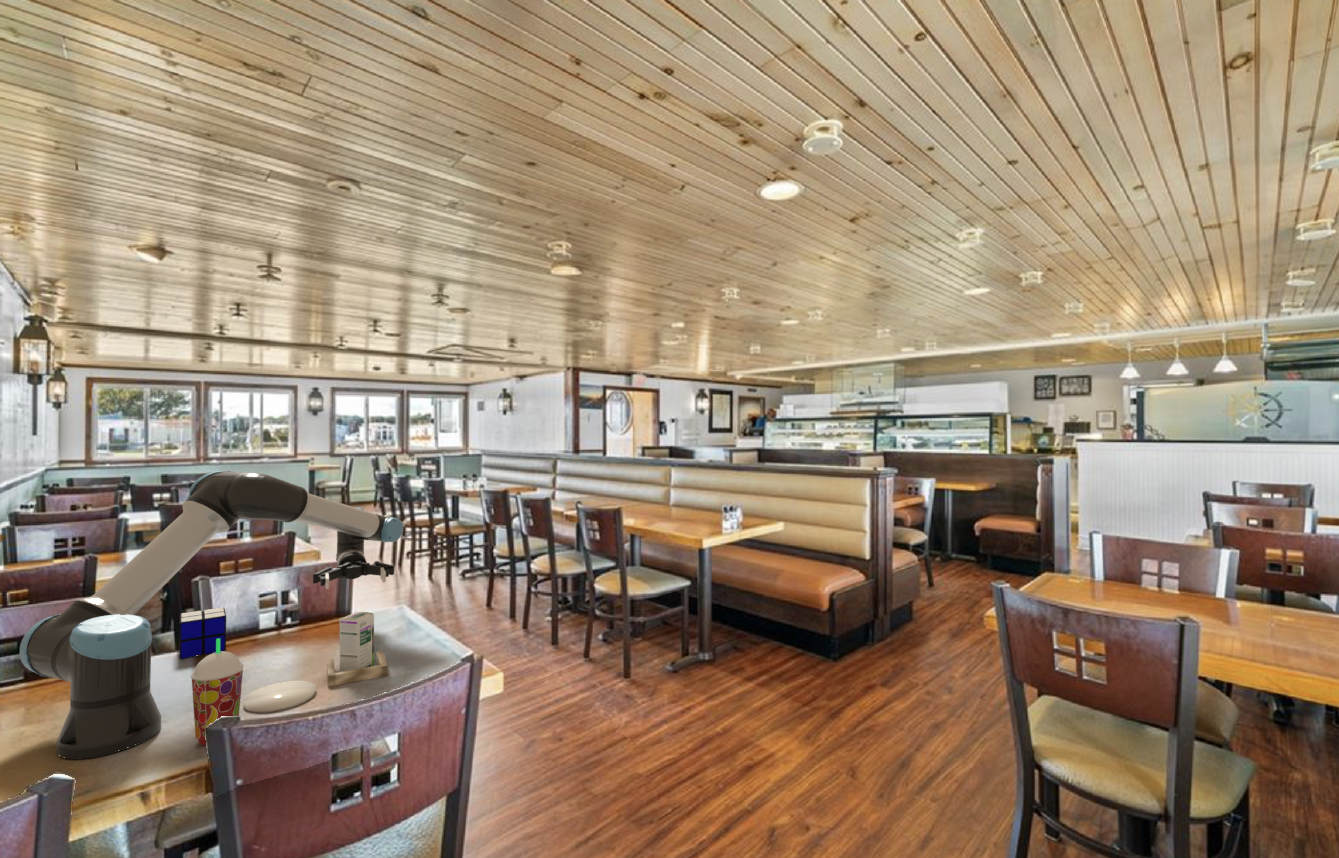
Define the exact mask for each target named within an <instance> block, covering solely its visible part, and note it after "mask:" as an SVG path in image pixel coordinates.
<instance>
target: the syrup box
mask: <svg viewBox="0 0 1339 858" xmlns="http://www.w3.org/2000/svg"><path fill="white" fill-rule="evenodd" d="M338 622H339V672H343V671H349V670H354V669H360V668H366V667H371V666H375V613H374V612H368V611H367V612H366V611H355V612H353V613H350V614H348V615H347V616H345V617H341V618H339V621H338Z"/></svg>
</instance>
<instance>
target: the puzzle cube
mask: <svg viewBox="0 0 1339 858" xmlns="http://www.w3.org/2000/svg"><path fill="white" fill-rule="evenodd" d="M178 638H179V640H178V641H179V653H180V654H179V653H178V654H179V655H178V658H179V660H183V659H184V658H185V659H190V658H189V657H191V658H195V657H194V656H196V655H202V654H207V655H210V654H211V653H215V652H216V639H218V638H220V651H226V652H227V613H226V609H225V607H217V608H211V609H209V608H208V609H203V610H196V611H190V612H182V613H180V614H179V637H178ZM202 656H203V655H202ZM196 657H197V656H196ZM185 659H184V660H185Z"/></svg>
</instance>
